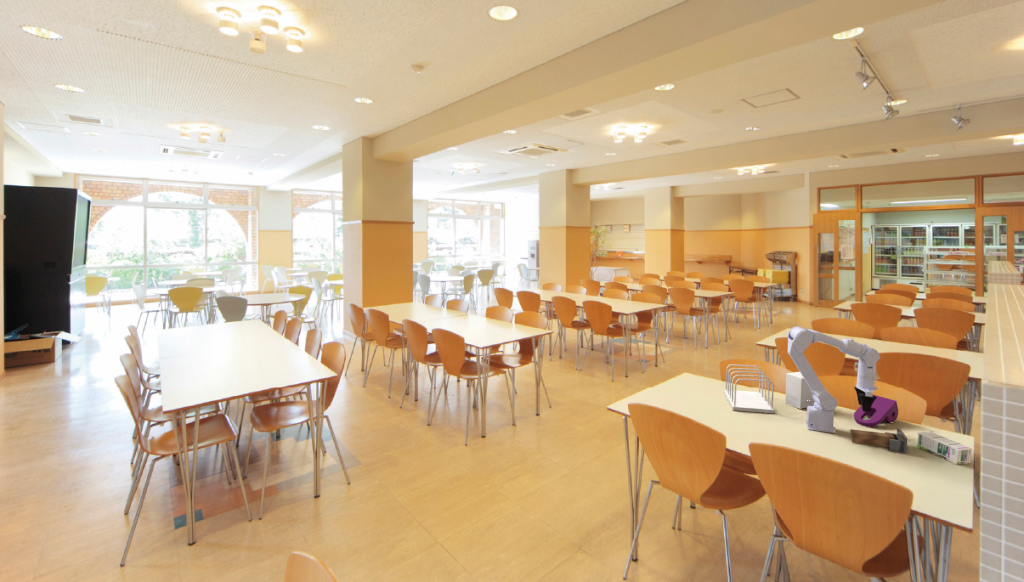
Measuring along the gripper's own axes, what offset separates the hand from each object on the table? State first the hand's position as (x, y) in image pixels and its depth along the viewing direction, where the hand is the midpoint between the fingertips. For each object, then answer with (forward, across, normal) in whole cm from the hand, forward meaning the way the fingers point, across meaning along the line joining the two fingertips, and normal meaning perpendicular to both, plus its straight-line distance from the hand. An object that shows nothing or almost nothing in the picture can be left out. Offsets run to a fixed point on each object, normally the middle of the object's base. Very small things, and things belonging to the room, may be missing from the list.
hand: (863, 408), depth 191 cm
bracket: (+10, -12, -7) cm, 17 cm away
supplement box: (+10, +23, +20) cm, 32 cm away
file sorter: (+10, +17, +42) cm, 47 cm away
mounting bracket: (+10, +14, -6) cm, 18 cm away
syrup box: (+7, -6, -18) cm, 20 cm away
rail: (+10, -12, -1) cm, 15 cm away
